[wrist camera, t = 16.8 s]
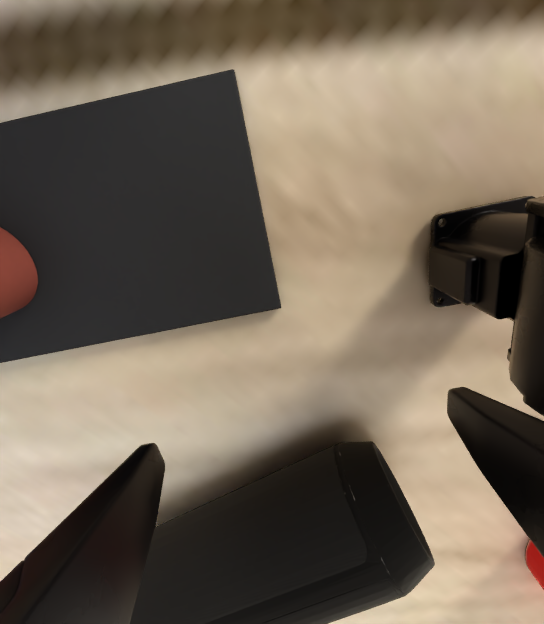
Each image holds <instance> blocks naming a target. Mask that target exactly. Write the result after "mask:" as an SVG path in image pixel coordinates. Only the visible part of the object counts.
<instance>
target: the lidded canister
mask: <svg viewBox="0 0 544 624" xmlns="http://www.w3.org/2000/svg"><path fill="white" fill-rule="evenodd" d="M37 285H38V275H37V270H36V267H35V264H34V262H33V260H32V258H31V256H30V254H29V253H28V251H27V250H26V249H25V247H24V246H23V245H22V244H21V243H20V242H19V241H18V240H17V239H16V238H15V237H14V236H13V235H11V234H10V233H9V232H7V231H6V230H4V229H2V228H1V227H0V318H3V317H5V316H7V315H9V314H11V313H13V312H15V311H17V310H19V309H21V308H23V307H25V306H26V305H27V304H28V303H29V302H30V301H31V300H32V299H33V297H34V295H35V293H36V290H37Z"/></svg>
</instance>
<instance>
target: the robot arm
mask: <svg viewBox="0 0 544 624" xmlns="http://www.w3.org/2000/svg"><path fill="white" fill-rule="evenodd" d="M526 203H527V205H526V208H525V204H526ZM440 219H442V220H443V222H442V224H441V225H439V224H438V222H439V220H440ZM428 283H429V285H431V298H430V300H431V303H432V304H433V305H434V306H436V307H445V306H450V305H455V304H460V303H463V304H465V305H472V306H474V307H476V308H478V309H480V310H481V311H483V312H485V313H487V314H489V315H491V316H493V317H495V318H497V319H504V318H508V319H510V320H512V321H514V326H513V334H512V341H511V348H510V349H508V355H507V359H508V360H509V362H510V363H509V373H510V380H511V381H512V382H513V383H514V385H515V386H516V387H517V389H518V390H519V391H520V393H522V394H523V395H524V396H523V401H524V402H525V404H527V405H528V406H530V407H531V408H533V409H534V410H535V411H537V412H538V413H540V414H541V415H543V416H544V196H543V197H538V198H535V197H533V196H524V197H519V198H514V199H509V200H505V201H500V202H495V203H490V204H485V205H480V206H475V207H470V208H465V209H460V210H456V211H451V212H446V213H441V214H437V215H436V216H434V217H433V219H432V222H431V248H430V249H429V280H428ZM439 298H441V300H440V301H439V302H437V300H438V299H439ZM447 413H448V416H449V419H450V421H451V422H452V424H453V426H454V427H455V429H456V431H457V432H458V434H459V436H460V438H461V439H462V441H463V443H464V444H465V446H466V448H467V449H468V451H469V453H470V455H471V456H472V458H473V460H474V461H475V463H476V464H477V466H478V468H479V469H480V471H481V472H482V474H483V475H484V476H485V478H486V479H487V481H488V482H489V483H490V485H491V486H492V487H493V489H494V490H495V492H496V493H497V494H498V496H499V497H500V498H501V500H502V501H503V503H504V504H505V505H506V507H507V508H508V509H509V511H510V512H511V514H512V515H513V516H514V518H515V519H516V520H517V522H518V523H519V525H520V526H521V527H522V529H523V530H524V531H525V533H526V534H527V536H528V537H529V538H530V540H531V541H532V542H533V544H534V545H535V547H536V548H537V549H538V551H539V552H540V554H541V555H542V556H543V558H544V421H542V420H540V419H538V418H535V417H533V416H531V415H528V414H526V413H524V412H521V411H519V410H517V409H514V408H512V407H510V406H507V405H505V404H503V403H500V402H498V401H496V400H493V399H491V398H489V397H486V396H484V395H482V394H479V393H477V392H475V391H472V390H470V389H468V388H465V387H459V388H453V389H450V390H449V391H448V401H447ZM164 472H165V463H164V460H163V458H162V455H161V453H160V451H159V449H158V447H157V445H156V444H155V443H149V444H144V445H141V446H140V447H139V448H137V449H136V450H135V451H134V452H133V453H132V454H131V455H130V456H129V457H128V458H127V459H126V460H125V461H124V462H123V463H122V464H121V465H120V466H119V467H118V468H117V469H116V470H115V471H114V472H113V473H112V474H111V475H110V476H109V477H108V478H107V479H106V480H105V481H104V482H103V483H102V484H100V485H99V486H98V487H97V488H96V489H95V490H94V491H93V492H92V493H91V494H90V495H89V496H88V497H87V498H86V499H85V500H84V501H83V502H82V503H81V504H80V505H79V506H78V507H77V508H76V509H75V510H74V511H73V512H72V513H71V514H70V515H69V516H68V517H67V518H66V519H64V520H63V521H62V522H61V523H60V524H59V525H58V526H57V527H56V528H55V529H54V530H53V531H52V532H51V533H50V534H49V535H48V536H47V537H46V538H45V539H44V540H43V541H42V542H41V543H40V544H39V545H38V546H37V547H36V548H35V549H34V550H33V551H32V552H30V553H29V554H28V555H27V556H26V558H25V560H24V561H21V562H20V563H19V564H18V565H17V566H16V567H15V568H14V569H13V570H12V571H11V572H10V573H9V574H8V575H7V576H6V577H5V578H4V579H3V580H2V581H0V624H130V621H131V617H132V613H133V610H134V606H135V602H136V598H137V594H138V591H139V587H140V583H141V579H142V575H143V571H144V568H145V564H146V560H147V556H148V552H149V548H150V545H151V541H152V537H153V533H154V529H155V525H156V520H157V515H158V509H159V503H160V497H161V490H162V484H163V478H164Z"/></svg>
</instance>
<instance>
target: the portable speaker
mask: <svg viewBox="0 0 544 624" xmlns="http://www.w3.org/2000/svg"><path fill="white" fill-rule="evenodd" d="M434 565H435V563H434V559H433V556H432V554H431V551H430V549H429V546H428V544H427V542H426V539H425V537H424V535H423V533H422V531H421V529H420V527H419V524H418V522H417V520H416V518H415V516H414V514H413V512H412V510H411V508H410V506H409V504H408V502H407V500H406V498H405V496H404V494H403V492H402V490H401V488H400V486H399V484H398V483H397V481H396V479H395V477H394V475H393V473H392V471H391V470H390V468H389V466H388V464H387V463H386V461H385V459H384V457H383V456H382V454H381V452H380V451H379V449H378V448H377V446H376V445H375V444H374V443H373V442H371V441H370V442H347V443H339V444H337V445H336V446H332V447H330V448H327V449H325V450H323V451H321V452H318V453H316V454H314V455H312V456H310V457H308V458H305V459H303V460H301V461H299V462H297V463H294V464H292V465H290V466H288V467H286V468H284V469H281V470H279V471H277V472H275V473H273V474H270V475H268V476H266V477H264V478H262V479H260V480H257V481H255V482H253V483H251V484H249V485H246V486H244V487H242V488H240V489H238V490H236V491H233V492H231V493H229V494H227V495H225V496H222V497H220V498H218V499H216V500H214V501H212V502H209V503H207V504H205V505H203V506H201V507H199V508H196V509H194V510H192V511H190V512H188V513H185V514H183V515H181V516H179V517H177V518H175V519H172V520H170V521H168V522H166V523H164V524H161V525H159V526H157V527H155V529H154V533H153V537H152V541H151V545H150V548H149V552H148V556H147V560H146V564H145V568H144V571H143V575H142V579H141V583H140V587H139V591H138V594H137V598H136V602H135V606H134V610H133V613H132V617H131V621H130V624H328V623H331V622H333V621H336V620H339V619H342V618H345V617H348V616H351V615H354V614H356V613H359V612H362V611H365V610H368V609H371V608H374V607H376V606H379V605H382V604H385V603H388V602H390V601H393V600H396V599H398V598H401V597H404V596H406V595H407V594H408V593H409V592H411V591H412V590H413V589H414V588H415V586H416V585H417V584H418V583H419V582H420V581H421V580H422V579H423V578H424V577H425V575H426V574H427V573H428V572H429V571H430V570H431V569H432V568H433V566H434Z"/></svg>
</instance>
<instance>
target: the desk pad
mask: <svg viewBox="0 0 544 624" xmlns="http://www.w3.org/2000/svg"><path fill="white" fill-rule="evenodd" d="M0 227H1V228H2V229H4V230H6V231H7V232H9V233H10V234H11V235H13V236H14V237H15V238H16V239H17V240H18V241H19V242H20V243H21V244H22V245H23V246H24V247H25V249H26V250H27V251H28V253H29V254H30V256H31V258H32V260H33V262H34V264H35V267H36V270H37V275H38V285H37V290H36V293H35V295H34V297H33V299H32V300H31V301H30V302H29V303H28V304H27V305H26V306H25V307H23V308H21V309H19V310H17V311H15V312H13V313H11V314H9V315H7V316H5V317H3V318H0V363H2V362H7V361H12V360H17V359H22V358H28V357H33V356H38V355H43V354H48V353H53V352H58V351H63V350H69V349H74V348H79V347H84V346H89V345H94V344H99V343H104V342H110V341H115V340H120V339H125V338H130V337H135V336H140V335H145V334H150V333H156V332H161V331H166V330H171V329H176V328H181V327H186V326H191V325H197V324H202V323H207V322H212V321H217V320H222V319H227V318H232V317H238V316H243V315H248V314H253V313H258V312H263V311H268V310H273V309H278V308H281V304H280V299H279V294H278V289H277V283H276V278H275V273H274V268H273V263H272V258H271V253H270V248H269V243H268V238H267V233H266V228H265V223H264V218H263V213H262V208H261V203H260V198H259V193H258V188H257V182H256V177H255V172H254V167H253V162H252V157H251V152H250V147H249V142H248V137H247V132H246V127H245V122H244V117H243V112H242V107H241V102H240V97H239V92H238V87H237V81H236V76H235V72H234V70H233V69H232V70H228V71H224V72H219V73H215V74H211V75H206V76H202V77H198V78H193V79H189V80H185V81H180V82H176V83H172V84H167V85H163V86H159V87H154V88H150V89H146V90H141V91H137V92H133V93H128V94H124V95H120V96H115V97H111V98H107V99H102V100H98V101H94V102H89V103H85V104H81V105H76V106H72V107H68V108H63V109H59V110H55V111H50V112H46V113H42V114H37V115H33V116H29V117H24V118H20V119H16V120H11V121H7V122H3V123H0Z"/></svg>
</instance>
